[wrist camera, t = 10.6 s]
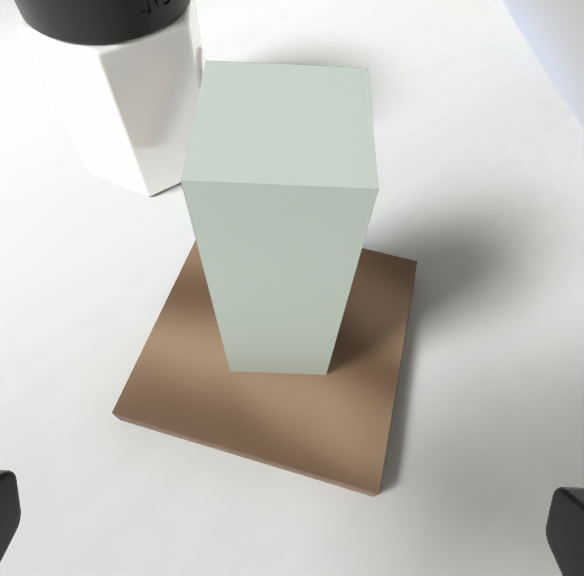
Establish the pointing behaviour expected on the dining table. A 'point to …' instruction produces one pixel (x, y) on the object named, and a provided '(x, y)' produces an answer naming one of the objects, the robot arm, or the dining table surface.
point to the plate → (279, 382)
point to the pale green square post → (280, 205)
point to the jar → (121, 82)
